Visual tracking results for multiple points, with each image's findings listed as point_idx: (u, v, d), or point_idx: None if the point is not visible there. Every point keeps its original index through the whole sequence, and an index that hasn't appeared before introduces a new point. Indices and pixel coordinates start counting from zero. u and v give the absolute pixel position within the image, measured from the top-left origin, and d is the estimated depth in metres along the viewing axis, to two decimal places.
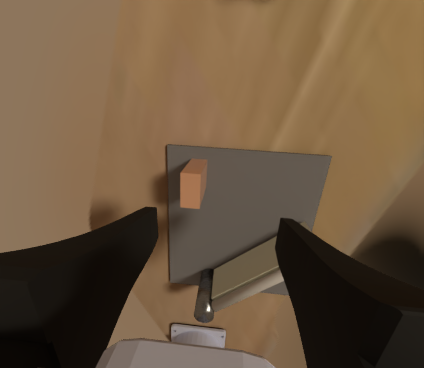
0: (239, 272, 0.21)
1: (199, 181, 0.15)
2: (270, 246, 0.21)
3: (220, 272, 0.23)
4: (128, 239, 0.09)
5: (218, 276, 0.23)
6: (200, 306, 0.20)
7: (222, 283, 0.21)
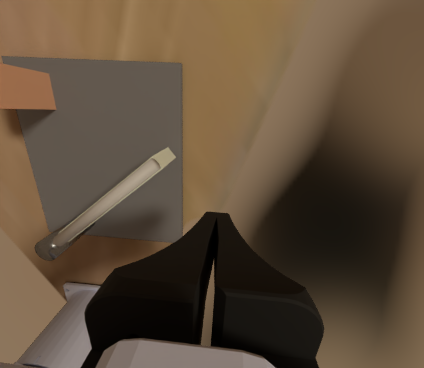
0: None
1: None
2: None
3: None
4: (209, 246, 0.08)
5: None
6: (41, 240, 0.18)
7: None
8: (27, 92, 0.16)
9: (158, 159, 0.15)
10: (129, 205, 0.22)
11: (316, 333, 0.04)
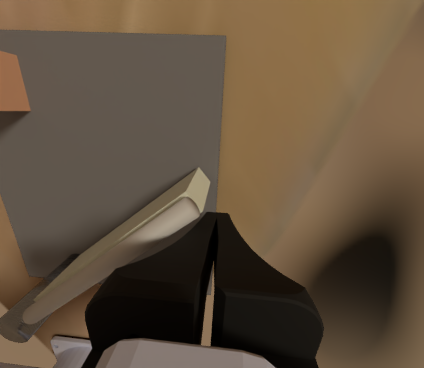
0: (87, 255, 0.12)
1: None
2: (142, 211, 0.12)
3: (78, 258, 0.14)
4: (209, 246, 0.08)
5: (71, 264, 0.14)
6: (6, 314, 0.11)
7: (62, 274, 0.13)
8: None
9: (193, 195, 0.09)
10: None
11: (316, 334, 0.04)
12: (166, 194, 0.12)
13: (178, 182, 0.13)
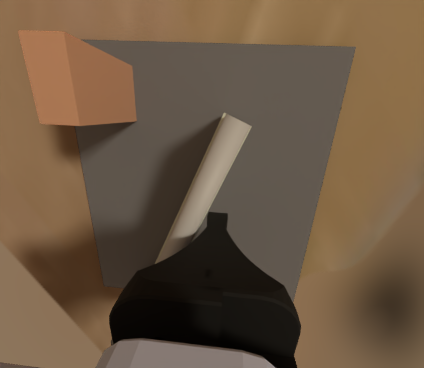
0: None
1: (64, 52, 0.07)
2: None
3: None
4: None
5: None
6: None
7: None
8: (111, 95, 0.09)
9: None
10: None
11: (293, 331, 0.04)
12: None
13: None
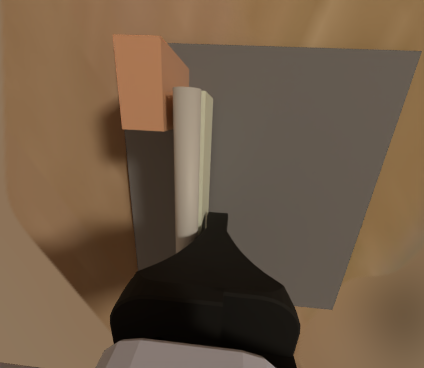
0: None
1: (158, 56, 0.07)
2: None
3: None
4: None
5: None
6: None
7: None
8: None
9: None
10: (267, 260, 0.15)
11: (293, 331, 0.04)
12: None
13: None
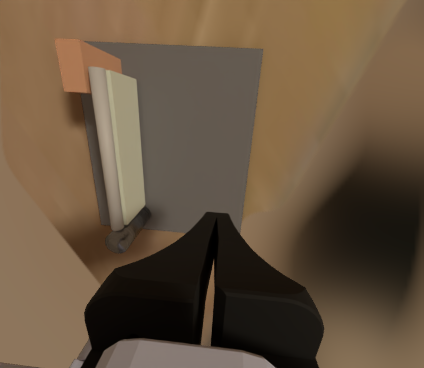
0: None
1: (79, 50, 0.12)
2: None
3: None
4: (209, 246, 0.08)
5: None
6: (112, 232, 0.17)
7: None
8: None
9: None
10: (188, 198, 0.21)
11: (316, 333, 0.04)
12: None
13: None
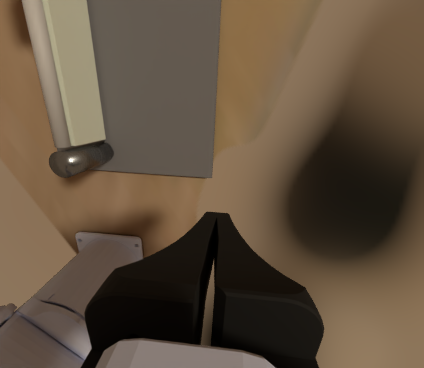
0: None
1: None
2: None
3: None
4: (209, 246, 0.08)
5: None
6: (57, 152, 0.15)
7: None
8: None
9: None
10: (153, 131, 0.19)
11: (316, 334, 0.04)
12: None
13: None
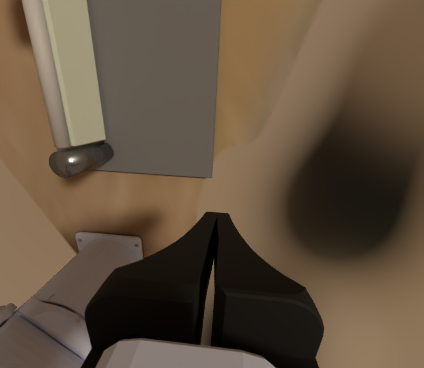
0: None
1: None
2: None
3: None
4: (209, 246, 0.08)
5: None
6: (57, 152, 0.15)
7: None
8: None
9: None
10: (153, 131, 0.19)
11: (316, 334, 0.04)
12: None
13: None
